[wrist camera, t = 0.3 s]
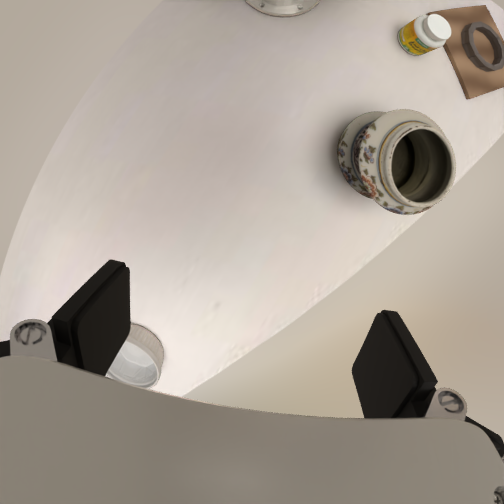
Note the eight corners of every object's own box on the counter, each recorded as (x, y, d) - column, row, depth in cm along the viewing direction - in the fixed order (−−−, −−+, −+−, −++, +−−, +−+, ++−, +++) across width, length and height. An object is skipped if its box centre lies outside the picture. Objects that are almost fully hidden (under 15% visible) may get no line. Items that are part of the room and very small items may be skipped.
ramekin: (100, 319, 56) (85, 339, 50) (156, 315, 55) (144, 337, 48) (123, 368, 61) (112, 389, 54) (176, 368, 60) (168, 391, 53)
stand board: (426, 14, 32) (436, 8, 29) (482, 6, 29) (492, 2, 25) (466, 99, 37) (478, 98, 34) (516, 81, 34) (527, 81, 30)
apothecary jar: (413, 173, 43) (479, 199, 26) (349, 204, 46) (392, 245, 29) (384, 102, 39) (446, 92, 23) (316, 131, 42) (347, 131, 25)
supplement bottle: (426, 33, 34) (455, 18, 25) (425, 60, 36) (456, 49, 27) (397, 22, 34) (423, 3, 25) (396, 50, 36) (423, 35, 27)
